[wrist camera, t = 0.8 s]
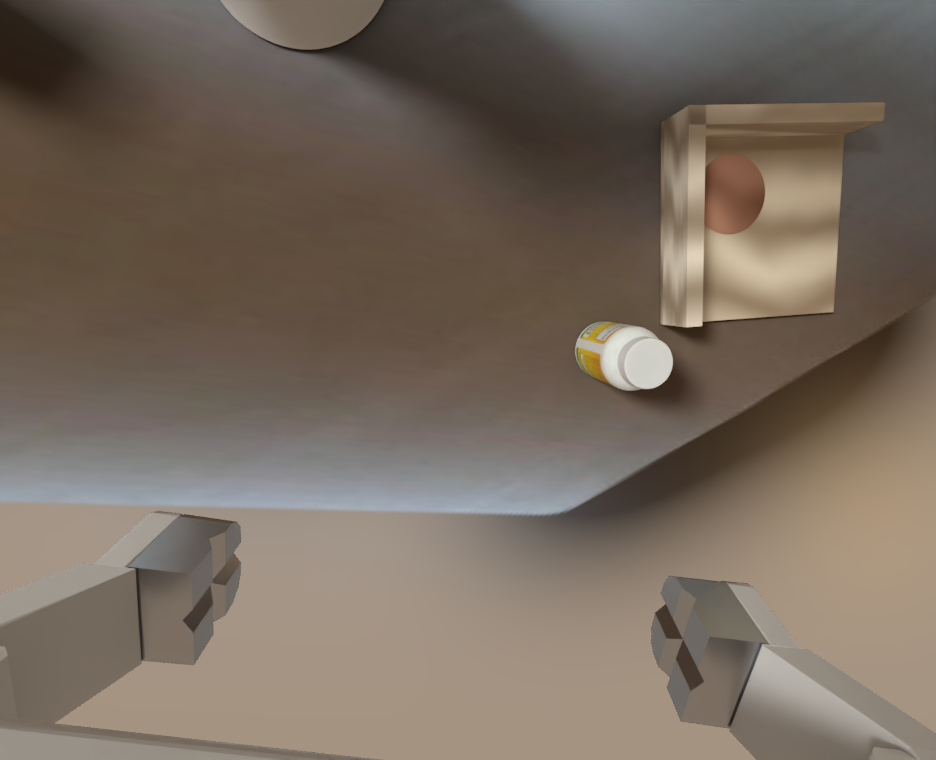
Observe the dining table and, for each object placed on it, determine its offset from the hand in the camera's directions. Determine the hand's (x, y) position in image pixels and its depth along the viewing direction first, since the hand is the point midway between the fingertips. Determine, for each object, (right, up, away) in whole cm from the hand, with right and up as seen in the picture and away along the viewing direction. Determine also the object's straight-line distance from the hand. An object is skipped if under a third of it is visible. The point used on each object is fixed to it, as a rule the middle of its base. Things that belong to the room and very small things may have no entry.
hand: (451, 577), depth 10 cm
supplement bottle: (+13, +7, +40) cm, 42 cm away
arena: (+27, +19, +40) cm, 51 cm away
